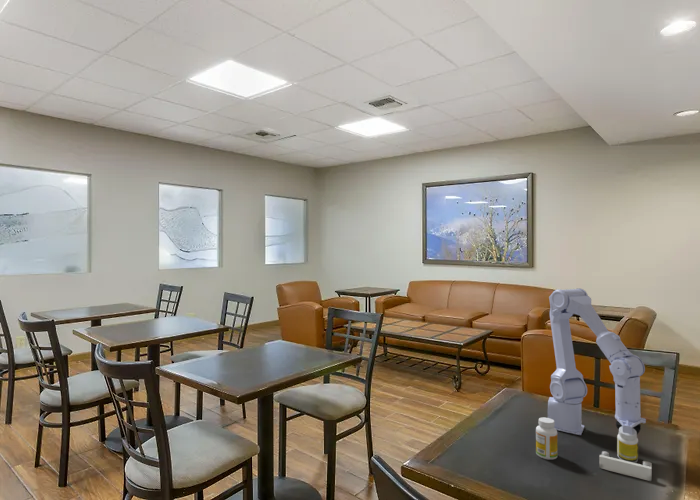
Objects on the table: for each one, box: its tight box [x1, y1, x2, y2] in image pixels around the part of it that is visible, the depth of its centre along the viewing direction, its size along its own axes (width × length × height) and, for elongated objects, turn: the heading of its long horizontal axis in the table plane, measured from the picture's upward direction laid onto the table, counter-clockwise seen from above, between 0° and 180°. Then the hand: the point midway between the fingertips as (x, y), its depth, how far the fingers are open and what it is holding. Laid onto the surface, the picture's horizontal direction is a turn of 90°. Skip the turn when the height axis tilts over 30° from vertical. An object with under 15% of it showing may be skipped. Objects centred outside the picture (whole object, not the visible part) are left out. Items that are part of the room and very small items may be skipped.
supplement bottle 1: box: [535, 417, 558, 460], centre depth 117 cm, size 5×5×10 cm
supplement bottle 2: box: [616, 426, 639, 463], centre depth 114 cm, size 5×5×8 cm
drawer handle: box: [598, 450, 653, 482], centre depth 110 cm, size 11×8×3 cm
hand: (628, 450), depth 116 cm, fingers closed, pressing on supplement bottle 2
